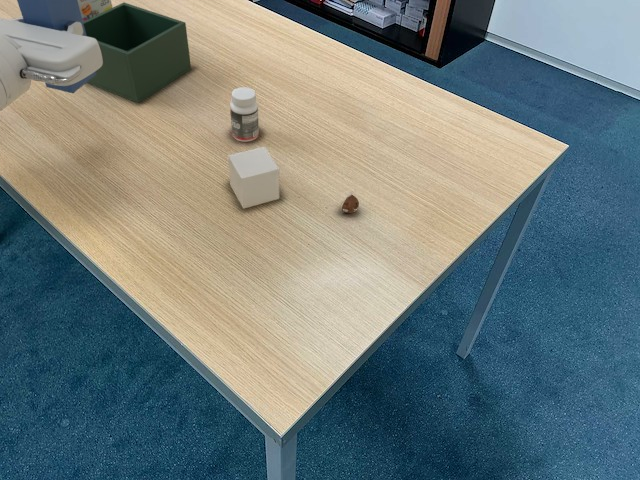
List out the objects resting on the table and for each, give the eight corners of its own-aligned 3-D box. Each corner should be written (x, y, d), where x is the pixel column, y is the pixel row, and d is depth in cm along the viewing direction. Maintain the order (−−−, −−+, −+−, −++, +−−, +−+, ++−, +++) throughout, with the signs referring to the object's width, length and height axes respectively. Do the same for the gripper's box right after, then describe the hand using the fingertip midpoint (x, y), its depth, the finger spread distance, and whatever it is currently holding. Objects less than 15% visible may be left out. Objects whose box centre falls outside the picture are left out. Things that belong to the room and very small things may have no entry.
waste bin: (77, 79, 107) (63, 30, 100) (133, 48, 116) (123, 2, 109) (138, 103, 102) (128, 54, 95) (191, 69, 112) (185, 22, 105)
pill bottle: (228, 130, 97) (224, 88, 91) (252, 124, 99) (251, 83, 93) (237, 145, 95) (235, 103, 89) (263, 138, 96) (261, 97, 90)
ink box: (89, 51, 114) (74, -6, 106) (61, 40, 117) (44, -17, 109) (120, 37, 120) (108, -19, 111) (92, 26, 122) (78, -29, 114)
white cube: (243, 209, 83) (241, 178, 79) (230, 185, 87) (227, 155, 83) (279, 198, 85) (279, 168, 81) (265, 176, 89) (264, 146, 85)
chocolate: (348, 220, 83) (351, 200, 80) (338, 212, 84) (340, 193, 81) (361, 211, 84) (364, 192, 82) (351, 204, 85) (353, 184, 83)
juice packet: (46, 87, 80) (10, -19, 69) (70, 68, 84) (40, -35, 73) (73, 93, 79) (41, -13, 68) (96, 74, 83) (70, -29, 72)
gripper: (56, 61, 63) (121, 13, 72) (-91, 28, 66) (-11, -14, 75) (71, 108, 67) (130, 58, 77) (-68, 75, 71) (5, 30, 80)
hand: (59, 22), depth 76 cm, fingers closed on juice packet, 4 cm apart
